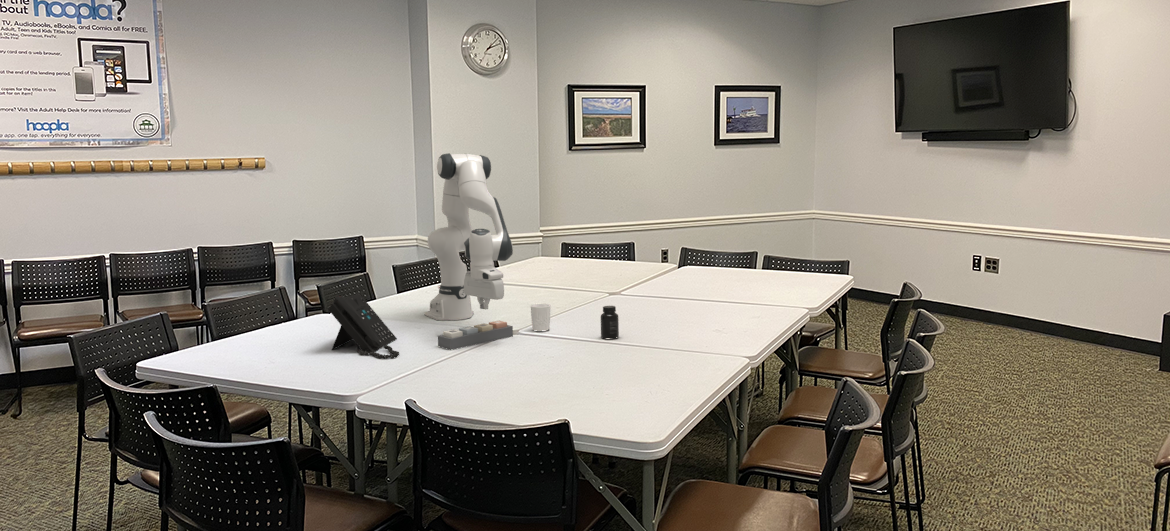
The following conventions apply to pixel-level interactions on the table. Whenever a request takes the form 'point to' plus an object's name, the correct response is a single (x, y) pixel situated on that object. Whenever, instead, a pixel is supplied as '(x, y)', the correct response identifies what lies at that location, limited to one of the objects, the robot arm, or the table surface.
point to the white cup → (540, 316)
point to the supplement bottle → (609, 322)
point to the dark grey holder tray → (475, 338)
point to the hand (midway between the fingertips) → (484, 309)
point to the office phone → (361, 326)
